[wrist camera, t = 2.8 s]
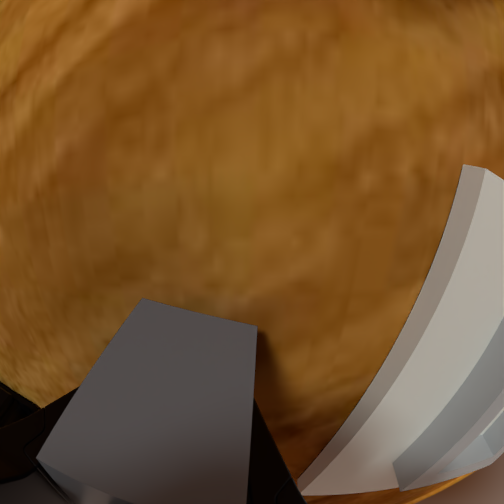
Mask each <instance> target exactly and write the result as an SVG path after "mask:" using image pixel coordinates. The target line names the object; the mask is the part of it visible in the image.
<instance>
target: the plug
mask: <svg viewBox="0 0 504 504" xmlns="http://www.w3.org/2000/svg"><path fill="white" fill-rule="evenodd" d="M256 343H257V326H254V325H250V324H245V323H240V322H236V321H231V320H227V319H222V318H218V317H214V316H210V315H205V314H201V313H197V312H193V311H189V310H185V309H181V308H177V307H174V306H170V305H166V304H162V303H159V302H155V301H151V300H148V299H144V298H142V299H141V300H140V302H139V303H138V304H137V306H136V307H135V308H134V310H133V311H132V312H131V314H130V315H129V317H128V318H127V319H126V321H125V322H124V323H123V325H122V326H121V328H120V329H119V330H118V332H117V333H116V334H115V336H114V337H113V339H112V340H111V341H110V343H109V344H108V346H107V347H106V349H105V350H104V351H103V353H102V354H101V356H100V357H99V359H98V360H97V362H96V363H95V364H94V366H93V367H92V369H91V370H90V372H89V373H88V375H87V376H86V378H85V379H84V381H83V382H82V384H81V385H80V387H79V388H78V390H77V391H76V393H75V395H74V396H73V398H72V399H71V401H70V402H69V404H68V405H67V407H66V409H65V410H64V412H63V413H62V415H61V417H60V418H59V420H58V422H57V423H56V425H55V426H54V428H53V430H52V431H51V433H50V435H49V436H48V438H47V440H46V442H45V443H44V445H43V447H42V448H41V450H40V452H39V454H38V455H37V457H36V458H37V460H38V461H39V462H40V464H41V465H42V466H43V468H44V469H45V470H46V471H47V473H48V474H49V475H50V476H51V477H52V479H53V480H54V481H55V482H56V483H57V484H58V486H59V487H60V488H61V489H62V490H63V491H64V492H65V493H66V494H67V496H68V497H69V498H70V499H71V500H72V501H73V502H74V503H75V504H246V500H247V486H248V472H249V457H250V442H251V427H252V411H253V395H254V378H255V361H256Z"/></svg>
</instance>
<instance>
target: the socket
mask: <svg viewBox="0 0 504 504" xmlns="http://www.w3.org/2000/svg"><path fill="white" fill-rule="evenodd" d="M503 452H504V180H503V179H501V178H500V177H498V176H496V175H495V174H493V173H492V172H490V171H489V170H487V169H485V168H480V167H475V166H470V165H464V164H463V167H462V172H461V176H460V180H459V184H458V187H457V191H456V195H455V198H454V202H453V205H452V209H451V212H450V215H449V218H448V221H447V224H446V227H445V230H444V233H443V236H442V239H441V242H440V245H439V247H438V250H437V253H436V255H435V258H434V261H433V263H432V266H431V268H430V271H429V273H428V275H427V278H426V280H425V282H424V285H423V287H422V289H421V292H420V294H419V296H418V298H417V300H416V302H415V305H414V307H413V309H412V311H411V313H410V315H409V317H408V319H407V321H406V323H405V325H404V327H403V329H402V331H401V333H400V335H399V336H398V338H397V340H396V342H395V344H394V346H393V347H392V349H391V351H390V353H389V355H388V356H387V358H386V360H385V361H384V363H383V365H382V367H381V368H380V370H379V372H378V373H377V375H376V376H375V378H374V380H373V381H372V383H371V384H370V386H369V387H368V389H367V391H366V392H365V394H364V395H363V397H362V398H361V400H360V401H359V403H358V404H357V405H356V407H355V408H354V410H353V411H352V413H351V414H350V415H349V417H348V418H347V420H346V421H345V422H344V424H343V425H342V426H341V428H340V429H339V430H338V432H337V433H336V434H335V436H334V437H333V438H332V439H331V441H330V442H329V443H328V444H327V446H326V447H325V448H324V449H323V451H322V452H321V453H320V454H319V455H318V457H317V458H316V459H315V460H314V461H313V463H312V464H311V465H310V466H309V467H308V468H307V469H306V471H305V472H304V473H303V474H302V475H301V476H300V477H299V478H298V479H297V486H298V489H299V491H300V493H301V494H302V495H339V494H353V493H363V492H372V491H379V490H386V489H392V488H398V487H399V489H400V492H401V491H406V490H411V489H415V488H420V487H424V486H428V485H432V484H435V483H439V482H442V481H446V480H449V479H452V478H455V477H459V476H461V475H464V474H467V473H470V472H473V471H475V470H478V469H481V468H483V467H486V466H488V465H490V464H492V463H493V462H494V461H495V460H496V459H497V458H498V457H499V456H500V455H501V454H502V453H503Z"/></svg>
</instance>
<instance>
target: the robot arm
mask: <svg viewBox="0 0 504 504" xmlns="http://www.w3.org/2000/svg"><path fill="white" fill-rule="evenodd" d="M79 387H80V386H79ZM79 387H77V388H76V389H74V390H72V391H71V392H69V393H67V394H66V395H64V396H62V397H61V398H59V399H57V400H56V401H54V402H52V403H50V404H49V405H47V406H45V408H42V409H40V410H38V408H37V407H36V406H35V405H33V404H32V403H30V402H29V401H27V400H25V399H24V398H22V397H20V396H19V395H17V394H16V393H14V392H13V391H11V390H10V389H8V388H7V387H5V386H4V385H2V384H1V383H0V504H75V503H74V502H73V501H72V500H71V499H70V498H69V497H68V496H67V494H66V493H65V492H64V491H63V490H62V489H61V488H60V487H59V486H58V484H57V483H56V482H55V481H54V480H53V479H52V477H51V476H50V475H49V474H48V473H47V471H46V470H45V469H44V468H43V466H42V465H41V464H40V462H39V461H38V460H37V458H36V457H37V455H38V454H39V452H40V450H41V448H42V447H43V445H44V443H45V442H46V440H47V438H48V436H49V435H50V433H51V431H52V430H53V428H54V426H55V425H56V423H57V422H58V420H59V418H60V417H61V415H62V413H63V412H64V410H65V409H66V407H67V405H68V404H69V402H70V401H71V399H72V398H73V396H74V395H75V393H76V391H77V390H78V388H79ZM291 477H292V476H291V474H290V472H289V470H288V468H287V466H286V464H285V462H284V460H283V458H282V456H281V454H280V452H279V450H278V448H277V446H276V444H275V442H274V440H273V438H272V436H271V434H270V431H269V429H268V427H267V425H266V423H265V421H264V419H263V417H262V414H261V412H260V410H259V408H258V406H257V403H256V401H255V399H254V397H253V411H252V427H251V442H250V457H249V472H248V486H247V500H246V504H307V502H306V501H305V499H304V498H303V496H302V494H301V493H300V491H299V489H298V487H297V486H296V484H295V482H294V480H293V478H291Z"/></svg>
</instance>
